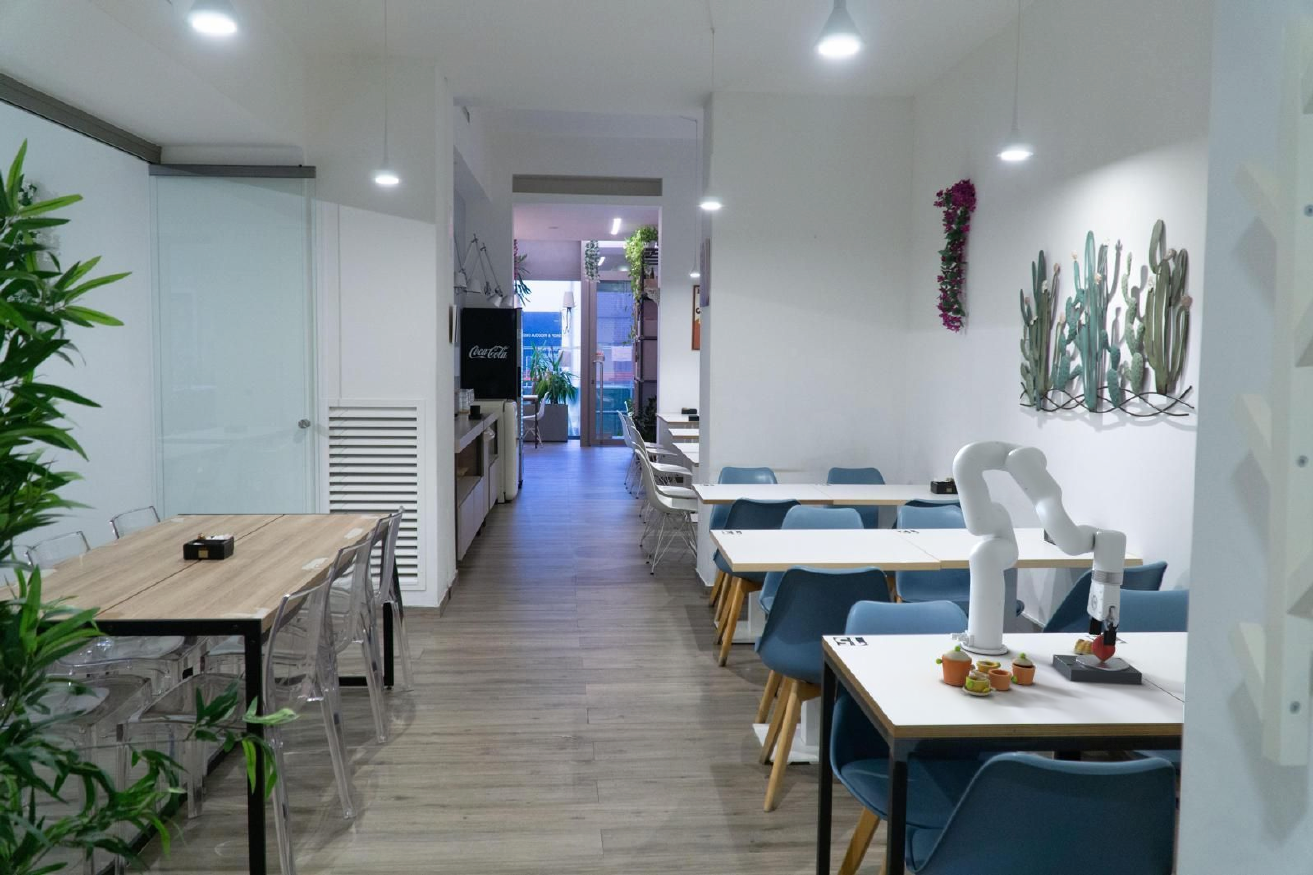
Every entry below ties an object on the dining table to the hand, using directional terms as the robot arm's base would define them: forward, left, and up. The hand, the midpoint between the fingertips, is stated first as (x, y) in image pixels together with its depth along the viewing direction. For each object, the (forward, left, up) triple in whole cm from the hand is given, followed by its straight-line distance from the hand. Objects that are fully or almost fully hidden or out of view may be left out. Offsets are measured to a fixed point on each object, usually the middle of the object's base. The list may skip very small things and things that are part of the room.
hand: (1101, 639), depth 264 cm
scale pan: (0, 0, -6) cm, 6 cm away
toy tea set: (-33, -13, -10) cm, 37 cm away
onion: (0, 0, -6) cm, 6 cm away
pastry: (+5, +20, -10) cm, 22 cm away
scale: (-1, 0, -9) cm, 9 cm away
